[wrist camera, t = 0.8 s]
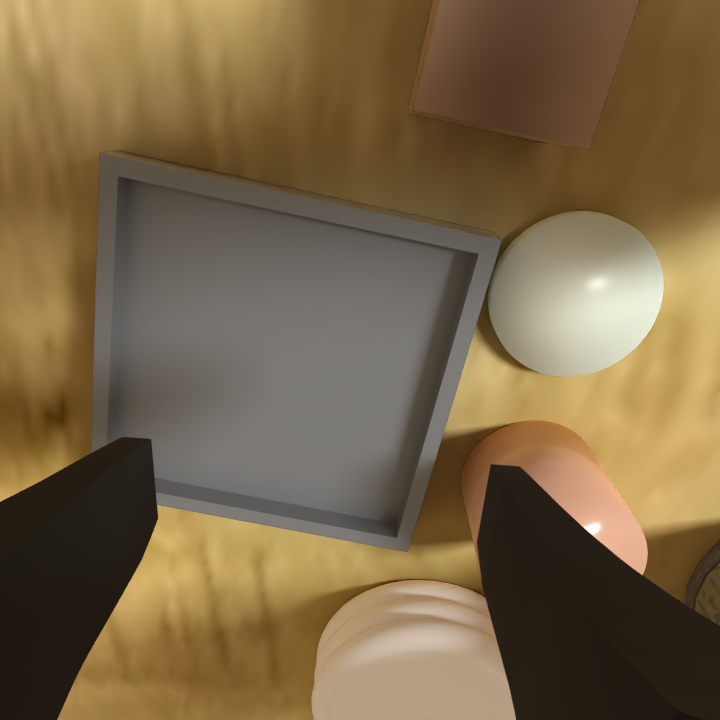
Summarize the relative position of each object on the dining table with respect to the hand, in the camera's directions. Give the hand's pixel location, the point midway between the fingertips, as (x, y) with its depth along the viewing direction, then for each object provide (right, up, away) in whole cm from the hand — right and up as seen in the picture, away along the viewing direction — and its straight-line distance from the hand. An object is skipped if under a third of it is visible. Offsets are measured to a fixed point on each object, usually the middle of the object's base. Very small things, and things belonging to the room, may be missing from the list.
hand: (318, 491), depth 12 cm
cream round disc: (+4, -12, +16) cm, 20 cm away
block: (+5, +13, +6) cm, 15 cm away
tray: (-2, +3, +10) cm, 11 cm away
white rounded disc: (+9, +5, +9) cm, 14 cm away
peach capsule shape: (+8, -2, +12) cm, 15 cm away
